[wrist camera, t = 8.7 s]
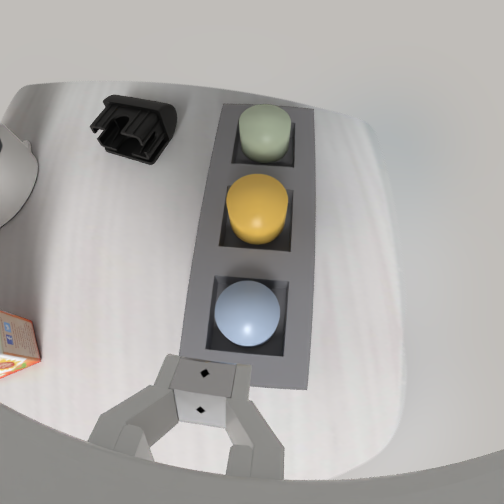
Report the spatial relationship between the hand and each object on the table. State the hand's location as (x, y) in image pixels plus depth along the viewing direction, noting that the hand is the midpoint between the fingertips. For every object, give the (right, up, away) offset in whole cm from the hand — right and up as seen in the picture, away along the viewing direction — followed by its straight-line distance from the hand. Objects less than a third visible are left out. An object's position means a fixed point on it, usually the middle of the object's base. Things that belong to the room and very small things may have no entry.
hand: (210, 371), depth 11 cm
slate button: (+1, -1, +16) cm, 16 cm away
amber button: (+2, +7, +17) cm, 19 cm away
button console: (+2, +4, +24) cm, 25 cm away
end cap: (-14, +20, +31) cm, 40 cm away
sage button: (+3, +15, +20) cm, 25 cm away
